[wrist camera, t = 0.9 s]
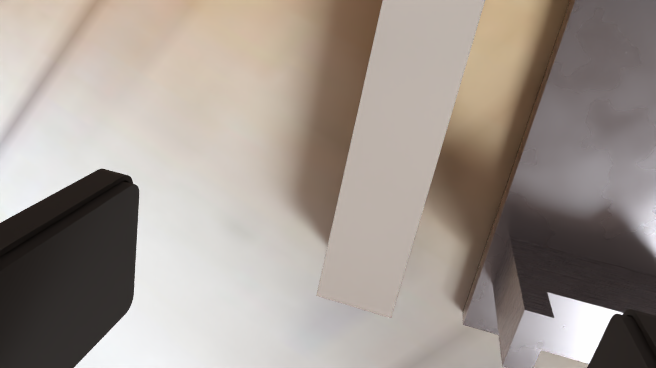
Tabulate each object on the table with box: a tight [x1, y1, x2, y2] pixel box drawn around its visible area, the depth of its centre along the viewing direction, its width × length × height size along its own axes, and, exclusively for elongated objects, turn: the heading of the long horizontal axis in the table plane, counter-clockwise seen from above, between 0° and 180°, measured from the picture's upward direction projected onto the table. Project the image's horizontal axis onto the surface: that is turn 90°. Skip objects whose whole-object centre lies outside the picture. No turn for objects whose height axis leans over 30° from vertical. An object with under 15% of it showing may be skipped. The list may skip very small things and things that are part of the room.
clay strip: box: [316, 0, 485, 318], centre depth 26 cm, size 4×22×5 cm, turn 169°
